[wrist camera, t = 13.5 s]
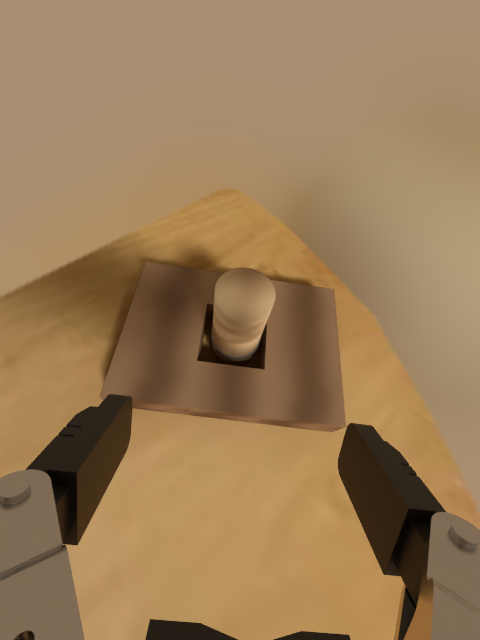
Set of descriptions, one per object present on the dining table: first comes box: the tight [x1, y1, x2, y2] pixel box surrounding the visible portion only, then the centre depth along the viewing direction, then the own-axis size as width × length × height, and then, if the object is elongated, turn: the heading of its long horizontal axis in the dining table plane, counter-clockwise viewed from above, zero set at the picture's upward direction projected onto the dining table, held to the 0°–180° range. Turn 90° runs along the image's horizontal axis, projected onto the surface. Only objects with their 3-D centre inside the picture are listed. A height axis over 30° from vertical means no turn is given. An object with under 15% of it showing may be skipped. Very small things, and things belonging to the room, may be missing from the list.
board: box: [100, 262, 346, 432], centre depth 28 cm, size 20×14×3 cm
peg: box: [211, 268, 276, 366], centre depth 25 cm, size 5×5×10 cm
